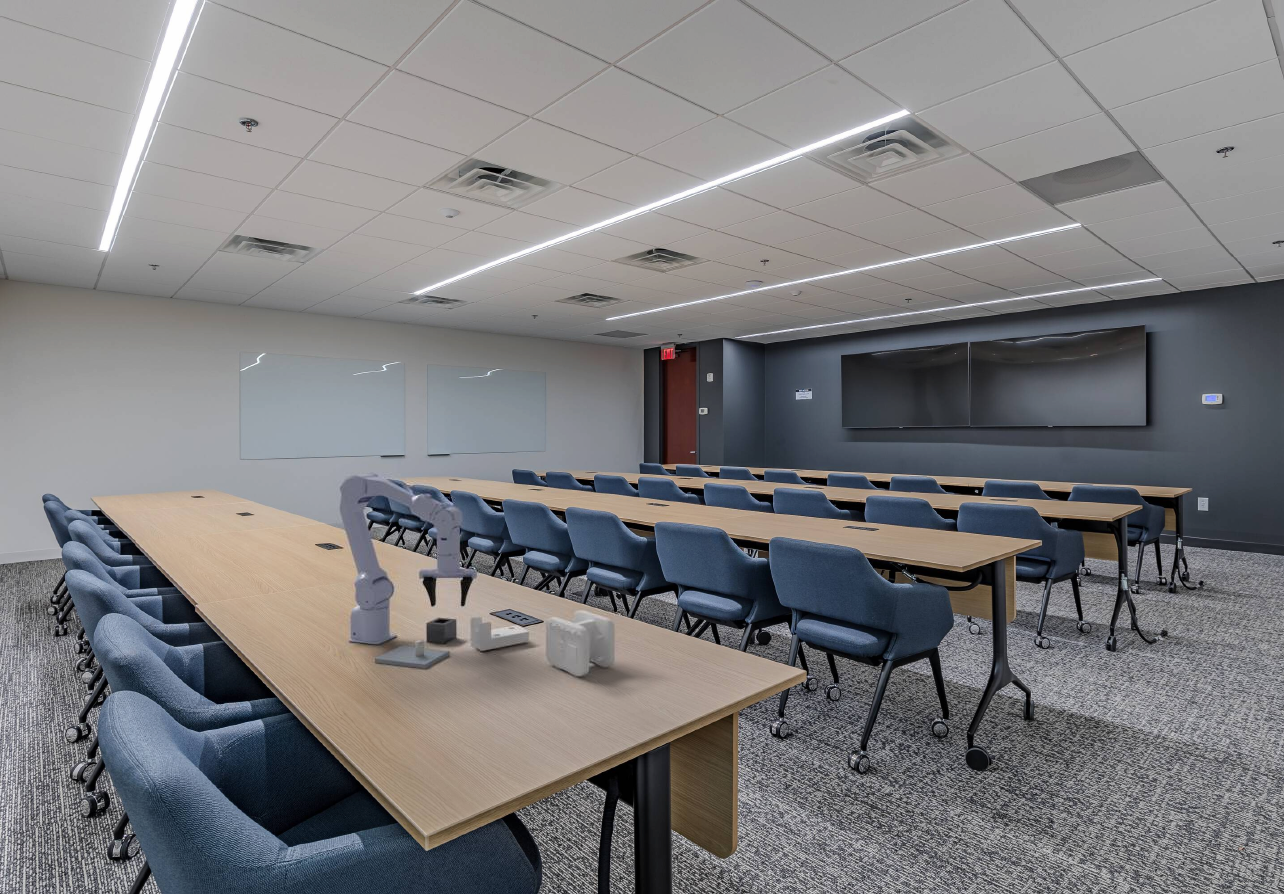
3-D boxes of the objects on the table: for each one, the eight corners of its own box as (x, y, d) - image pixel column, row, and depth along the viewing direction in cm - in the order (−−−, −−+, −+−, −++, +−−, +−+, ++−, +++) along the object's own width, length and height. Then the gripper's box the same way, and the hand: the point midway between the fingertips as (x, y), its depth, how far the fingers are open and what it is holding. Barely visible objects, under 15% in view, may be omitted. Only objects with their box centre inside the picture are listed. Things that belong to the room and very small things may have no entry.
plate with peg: (374, 662, 162) (374, 643, 161) (401, 649, 171) (401, 631, 171) (424, 668, 157) (424, 649, 157) (449, 655, 167) (449, 636, 167)
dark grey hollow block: (426, 641, 177) (426, 622, 177) (438, 635, 183) (438, 617, 182) (444, 643, 176) (444, 624, 176) (456, 637, 181) (456, 619, 181)
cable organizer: (617, 670, 156) (617, 620, 156) (581, 681, 149) (581, 629, 149) (578, 654, 168) (578, 607, 167) (543, 664, 161) (543, 615, 160)
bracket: (481, 654, 168) (481, 624, 168) (470, 647, 174) (470, 618, 174) (528, 644, 176) (528, 616, 176) (517, 638, 182) (517, 610, 181)
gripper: (415, 556, 172) (415, 609, 172) (473, 556, 172) (473, 609, 173) (423, 551, 179) (423, 602, 179) (478, 551, 179) (478, 602, 180)
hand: (448, 605), depth 176 cm, fingers open, 7 cm apart
